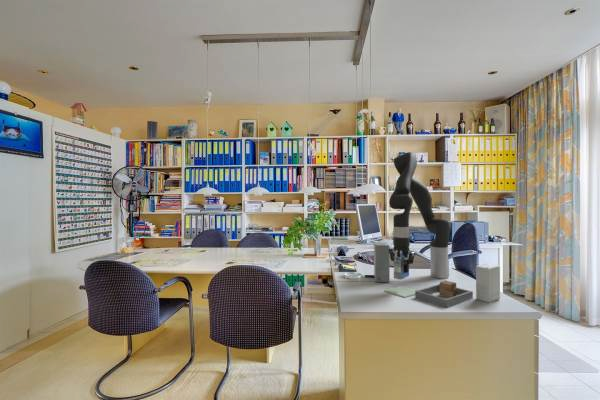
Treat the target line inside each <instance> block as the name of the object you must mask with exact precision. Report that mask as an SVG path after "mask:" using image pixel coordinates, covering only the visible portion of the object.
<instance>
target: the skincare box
mask: <svg viewBox="0 0 600 400" xmlns="http://www.w3.org/2000/svg"><path fill="white" fill-rule="evenodd" d="M500 268H501V267H500V266H499V265H495V264H490V263H484V264H480V265H479V264H478V265H475V290H476V291H475V297H476V299H477V300H481V301H483V302H486V303H492V302H495V301H497V300H500V299H501V276H500V275H501V274H500V272H501V269H500Z"/></svg>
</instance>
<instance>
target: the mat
mask: <svg viewBox="0 0 600 400" xmlns="http://www.w3.org/2000/svg"><path fill="white" fill-rule="evenodd" d="M383 291H384V292H386V293H389V294H392V295H395V296H398V297H401V298H408V297H409V298H410V297H413V296H415V291H417V290H416V289H413V288H409V287H406V286H401V285H398V286H395V287H390V288H387V289H384V290H383Z"/></svg>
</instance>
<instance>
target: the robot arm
mask: <svg viewBox="0 0 600 400" xmlns="http://www.w3.org/2000/svg"><path fill="white" fill-rule="evenodd" d="M393 165H394V167H395V169H396V171H397V173H398V174H399V177H397V180H396V182H395V189H394V190H393V192H392V193H391V195H390V197H389V202H388V204H389V207H390V208H391V209H393V210H403V212H402V213H396V214H394V215H393V218H392V219H393V221H392V222H393V230H392V245H393V248H389V259H390V260H391V261H392V262H394V261H396V260H398V259H401V255H400V253H403V260H404V273H408V271H409V272H410V265H413V263H414V260H415V259H414V258H415V256H416V252H415V251H411V250H410V246H411V245H410V243H411V242H410V240H411V237H410V236H411V235H410V227H409V226H410V213H411V209H412V205H413V201H414V203H415V204H416V207H417V209H418V211H419V214H420V215H421V217H422V220H423V222H424V224H425V227H426V229H427V231H428V232H429V233H430V234H433V235H435V238H434V239H433V240H430V244H429V245H430V246H429V248H430V249H429V250H430V252H429V253H430V254H429V255H430V259H429V260H430V263H429V264H430V277H431V278H435V279H448V278H449V277H450V260H449V243H450V236H451V235H450V233H451V226H450V222H449V221H448V220H447V219H446V218H440V217H439V218H437V217H436V216H435V213H434V212H433V210H432V209H433V208H432V205H433V198H432V197H433V196H432V195H431V193H430V191H429V189H428V187H427V186H426V185H425V184H424V183H422V182H420V181H419V180H418V179H415V178H414V177H413V176H414V174H415V172H416V169H417V166H418V160H417V157H416V155H415V153H413V152H412V151H409V152H405V153H403V154H400V155H399V156H396V157H395V158H394V159H393ZM408 254H409V257H408ZM405 257H406V258H405Z"/></svg>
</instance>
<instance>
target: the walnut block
mask: <svg viewBox="0 0 600 400" xmlns="http://www.w3.org/2000/svg"><path fill="white" fill-rule="evenodd" d="M439 284H440V291H439V296H443V297H445V298H446V297H447V298H451V297H454V296H457V295H456V287H457V282H454V281H450V280H441V281H439Z"/></svg>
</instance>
